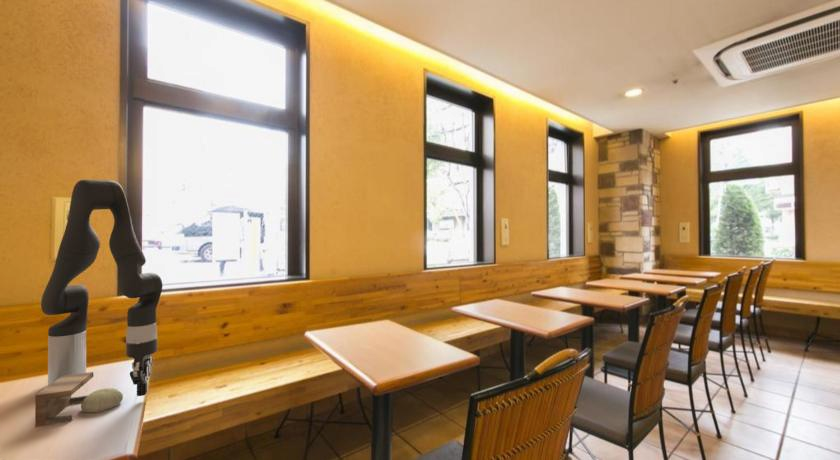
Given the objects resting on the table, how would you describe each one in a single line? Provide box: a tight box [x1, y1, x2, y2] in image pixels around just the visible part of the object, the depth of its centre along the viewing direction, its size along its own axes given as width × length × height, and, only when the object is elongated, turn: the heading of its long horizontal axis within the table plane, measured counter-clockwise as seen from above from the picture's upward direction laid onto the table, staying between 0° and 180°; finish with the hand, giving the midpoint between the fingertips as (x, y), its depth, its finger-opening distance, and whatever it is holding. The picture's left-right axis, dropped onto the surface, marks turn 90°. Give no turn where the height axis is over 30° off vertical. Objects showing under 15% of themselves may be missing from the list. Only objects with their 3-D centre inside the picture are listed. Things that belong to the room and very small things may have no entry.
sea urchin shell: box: [80, 387, 124, 413], centre depth 104 cm, size 9×8×8 cm
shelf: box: [34, 371, 94, 428], centre depth 101 cm, size 14×7×8 cm, turn 24°
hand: (142, 394), depth 108 cm, fingers closed
